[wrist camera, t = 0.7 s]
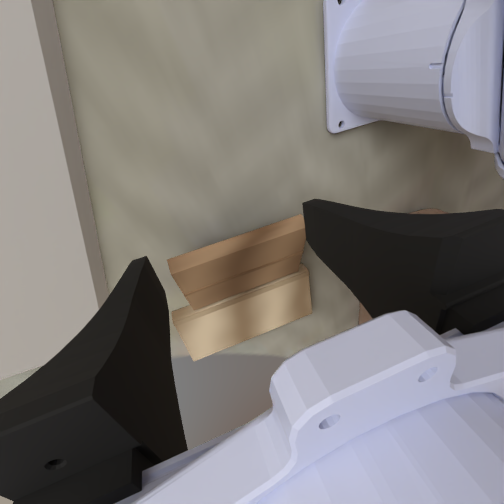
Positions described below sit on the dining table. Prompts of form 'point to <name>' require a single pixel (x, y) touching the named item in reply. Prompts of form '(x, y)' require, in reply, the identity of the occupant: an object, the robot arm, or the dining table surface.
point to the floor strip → (244, 314)
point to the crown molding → (41, 197)
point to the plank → (240, 262)
